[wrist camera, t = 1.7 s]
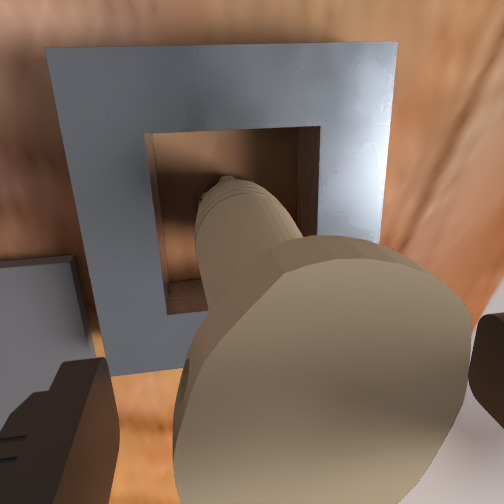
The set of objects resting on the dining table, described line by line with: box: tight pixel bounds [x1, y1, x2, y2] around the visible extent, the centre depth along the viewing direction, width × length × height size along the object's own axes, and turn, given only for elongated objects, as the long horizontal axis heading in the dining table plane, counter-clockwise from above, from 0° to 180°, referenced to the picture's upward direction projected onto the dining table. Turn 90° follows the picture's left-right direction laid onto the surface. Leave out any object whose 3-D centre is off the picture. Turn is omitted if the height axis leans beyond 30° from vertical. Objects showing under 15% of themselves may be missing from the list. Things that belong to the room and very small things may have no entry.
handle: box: [173, 175, 473, 504], centre depth 14 cm, size 5×6×15 cm
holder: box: [44, 42, 398, 377], centre depth 19 cm, size 14×13×4 cm
